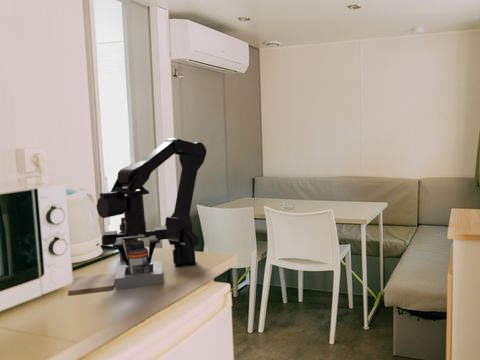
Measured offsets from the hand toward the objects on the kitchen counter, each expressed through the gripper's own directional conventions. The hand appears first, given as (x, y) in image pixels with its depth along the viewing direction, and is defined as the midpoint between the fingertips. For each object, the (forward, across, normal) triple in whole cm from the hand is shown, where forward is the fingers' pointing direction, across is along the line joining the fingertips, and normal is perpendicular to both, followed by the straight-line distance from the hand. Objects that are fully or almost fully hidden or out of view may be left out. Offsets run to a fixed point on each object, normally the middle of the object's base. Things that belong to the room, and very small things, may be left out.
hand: (138, 264), depth 138 cm
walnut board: (+4, +13, 0) cm, 14 cm away
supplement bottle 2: (+5, 0, 0) cm, 5 cm away
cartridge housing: (+4, 0, 0) cm, 4 cm away
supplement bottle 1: (+5, +4, -25) cm, 26 cm away
